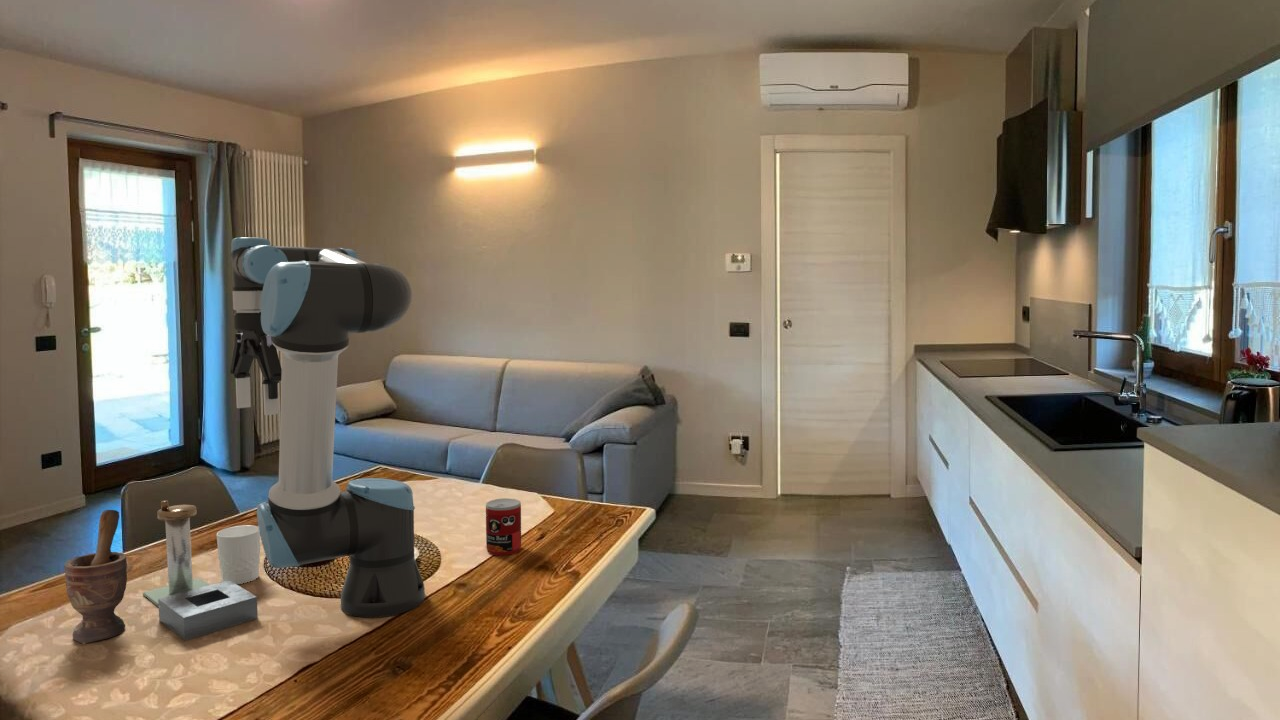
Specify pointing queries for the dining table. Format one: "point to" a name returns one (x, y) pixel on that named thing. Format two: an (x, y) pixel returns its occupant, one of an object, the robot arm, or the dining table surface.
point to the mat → (164, 591)
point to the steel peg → (178, 545)
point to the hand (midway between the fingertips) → (257, 411)
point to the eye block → (207, 609)
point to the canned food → (503, 526)
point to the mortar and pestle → (98, 585)
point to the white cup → (239, 553)
